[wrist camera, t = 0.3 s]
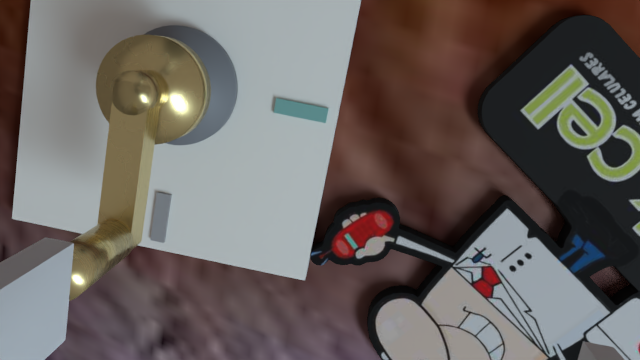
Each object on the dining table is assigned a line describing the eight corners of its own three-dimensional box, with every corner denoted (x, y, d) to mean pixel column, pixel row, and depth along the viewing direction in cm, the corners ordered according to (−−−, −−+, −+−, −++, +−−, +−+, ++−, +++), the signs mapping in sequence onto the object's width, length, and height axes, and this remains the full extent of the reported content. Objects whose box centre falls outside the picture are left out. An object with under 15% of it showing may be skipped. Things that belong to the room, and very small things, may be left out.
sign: (843, 282, 40) (501, 534, 46) (823, 272, 42) (496, 517, 48) (577, -11, 38) (252, 294, 44) (567, -8, 40) (256, 285, 45)
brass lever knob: (116, 26, 37) (16, 13, 26) (218, 46, 36) (158, 42, 26) (93, 226, 39) (-6, 286, 29) (188, 245, 39) (122, 314, 29)
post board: (51, -125, 40) (7, -150, 35) (373, -64, 39) (374, -81, 34) (21, 214, 45) (-21, 233, 40) (306, 274, 44) (299, 301, 40)
